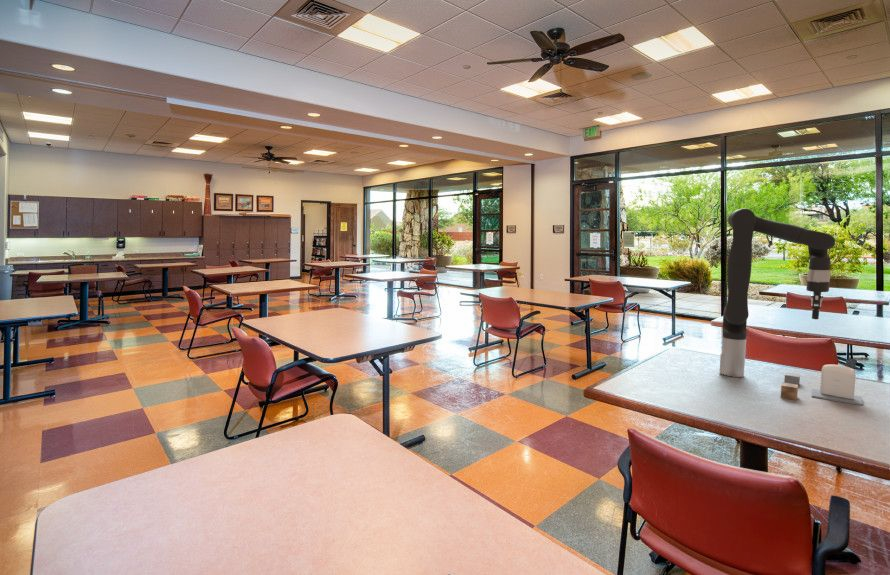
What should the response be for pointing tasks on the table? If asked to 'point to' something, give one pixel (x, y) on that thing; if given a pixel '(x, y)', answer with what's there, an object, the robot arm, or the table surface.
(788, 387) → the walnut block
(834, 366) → the photo printer
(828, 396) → the slate mat
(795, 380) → the gray block
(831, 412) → the table surface
